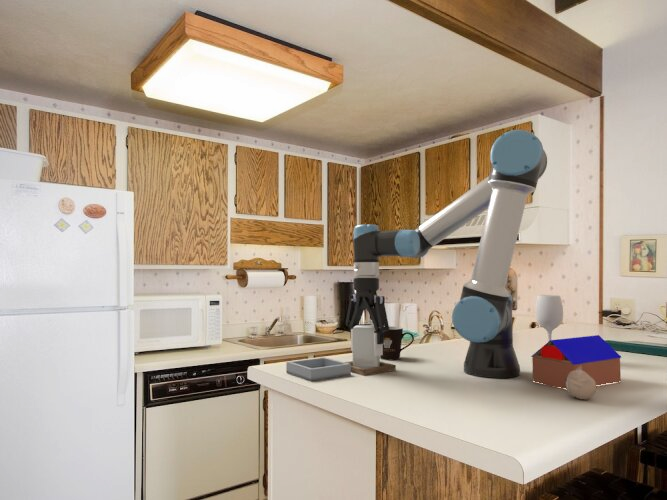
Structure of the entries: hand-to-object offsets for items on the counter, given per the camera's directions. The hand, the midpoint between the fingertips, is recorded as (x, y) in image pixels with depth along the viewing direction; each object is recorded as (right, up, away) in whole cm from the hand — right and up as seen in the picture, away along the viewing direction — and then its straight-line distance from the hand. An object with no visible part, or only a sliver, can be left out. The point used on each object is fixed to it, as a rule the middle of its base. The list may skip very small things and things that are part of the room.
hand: (366, 352), depth 138 cm
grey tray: (-14, -4, -6) cm, 16 cm away
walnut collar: (0, -5, 0) cm, 5 cm away
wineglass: (+60, -6, +12) cm, 61 cm away
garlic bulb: (+46, -3, -33) cm, 57 cm away
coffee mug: (+10, -6, +17) cm, 20 cm away
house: (+53, -4, -17) cm, 56 cm away
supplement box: (0, -5, 0) cm, 5 cm away
